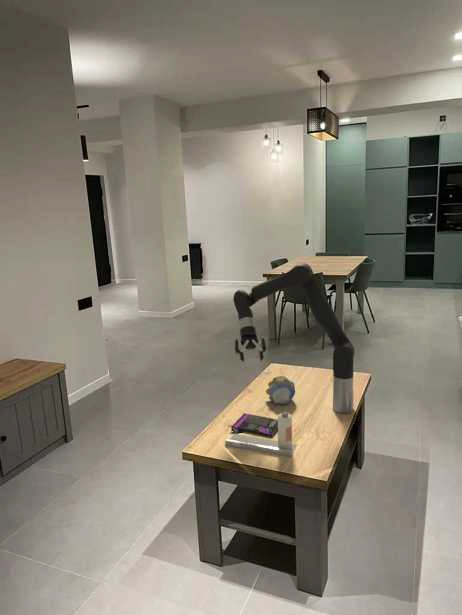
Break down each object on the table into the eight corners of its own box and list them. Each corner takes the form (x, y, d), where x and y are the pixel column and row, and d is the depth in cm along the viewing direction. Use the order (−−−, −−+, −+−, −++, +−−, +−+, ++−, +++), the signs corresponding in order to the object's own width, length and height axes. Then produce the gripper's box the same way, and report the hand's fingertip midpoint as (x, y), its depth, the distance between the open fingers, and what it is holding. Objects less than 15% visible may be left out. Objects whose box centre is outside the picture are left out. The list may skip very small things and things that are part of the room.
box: (231, 433, 204) (272, 441, 195) (230, 426, 203) (271, 434, 195) (244, 419, 216) (283, 426, 207) (244, 412, 215) (283, 419, 207)
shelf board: (297, 447, 189) (297, 444, 189) (291, 459, 180) (291, 456, 180) (234, 436, 200) (234, 433, 199) (225, 447, 191) (225, 445, 190)
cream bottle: (275, 447, 188) (275, 412, 184) (286, 443, 190) (286, 409, 187) (283, 453, 183) (283, 418, 179) (294, 449, 185) (294, 414, 182)
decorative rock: (281, 378, 221) (297, 370, 233) (255, 381, 231) (272, 373, 243) (288, 406, 221) (304, 397, 233) (262, 408, 231) (278, 399, 243)
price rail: (292, 455, 181) (292, 450, 181) (291, 456, 180) (291, 452, 180) (226, 443, 192) (226, 439, 191) (225, 445, 190) (224, 440, 190)
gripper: (233, 325, 213) (238, 358, 205) (263, 324, 216) (269, 356, 208) (231, 333, 219) (235, 364, 212) (260, 331, 222) (265, 363, 214)
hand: (252, 360), depth 210 cm, fingers open, 8 cm apart
